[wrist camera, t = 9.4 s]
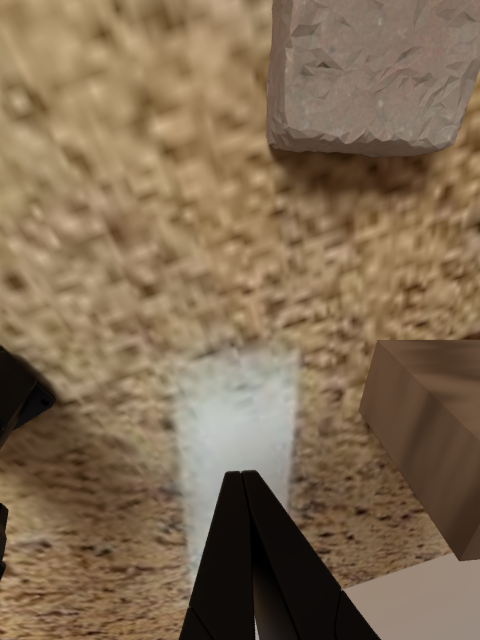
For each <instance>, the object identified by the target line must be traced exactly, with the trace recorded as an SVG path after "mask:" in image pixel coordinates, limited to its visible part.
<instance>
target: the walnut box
mask: <svg viewBox="0 0 480 640" xmlns="http://www.w3.org/2000/svg"><path fill="white" fill-rule="evenodd" d="M359 411H360V412H361V414H362V415H363V417H364V418H365V420H366V422H367V423H368V425H369V426H370V428H371V429H372V431H373V432H374V434H375V435H376V437H377V438H378V440H379V441H380V443H381V444H382V446H383V447H384V449H385V450H386V452H387V453H388V455H389V456H390V458H391V459H392V461H393V462H394V464H395V465H396V467H397V468H398V470H399V471H400V473H401V474H402V476H403V477H404V479H405V480H406V482H407V483H408V485H409V486H410V488H411V489H412V491H413V492H414V494H415V495H416V497H417V498H418V500H419V501H420V503H421V504H422V506H423V507H424V509H425V510H426V512H427V513H428V515H429V516H430V518H431V519H432V521H433V522H434V524H435V525H436V527H437V528H438V530H439V532H440V533H441V535H442V536H443V538H444V539H445V541H446V542H447V544H448V545H449V547H450V548H451V550H452V551H453V553H454V554H455V556H456V557H457V559H458V560H459V561H466V560H477V559H480V340H377V343H376V347H375V351H374V355H373V358H372V362H371V366H370V369H369V373H368V377H367V381H366V384H365V388H364V392H363V396H362V399H361V403H360V407H359Z"/></svg>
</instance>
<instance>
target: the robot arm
mask: <svg viewBox="0 0 480 640" xmlns="http://www.w3.org/2000/svg"><path fill="white" fill-rule="evenodd" d="M44 399H47V400H48V401H45V400H44ZM55 400H56V398H55V396H54V394H53V393H51V392H50V391H49V390H48V389H47V388H46V387H45V386H43V385H42V384H41V383H40V382H39V381H38V380H37V379H36V378H34V377H33V376H32V375H31V374H30V373H29V372H28V371H26V370H25V369H24V368H23V367H22V366H21V365H20V364H19V363H17V362H16V361H15V360H14V359H13V358H12V357H11V356H9V355H8V354H7V353H6V352H5V351H4V350H3V349H1V348H0V449H1V447H2V446H3V444H4V443H5V441H6V439H7V438H8V436H9V435H10V433H11V432H12V431H13V430H15V429H16V428H18V427H20V426H21V425H23V424H25V423H26V422H28V421H29V420H31V419H33V418H34V417H36V416H38V415H39V414H41V413H42V412H44V411H46V410H47V409H49V408H51V407H52V406H53V404H54V402H55ZM7 517H8V509H7V508H6V507H5V506H4V505H3V504H2V503H0V581H1V579H2V577H3V574H4V572H5V569H6V564H5V563H4V562H3V561H2V559H3V556H4V551H5V545H6V540H7V538H6V534H5V529H6V523H7ZM254 615H255V617H254ZM255 620H256V625H257V630H258V635H259V640H381V639H380V638H379V637H378V635H377V634H376V633H375V632H374V631H373V629H372V628H371V627H370V625H369V624H368V623H367V621H366V620H365V619H364V617H363V616H362V615H361V614H360V612H359V611H358V610H357V609H356V607H355V606H354V604H353V603H352V601H351V600H350V599H349V597H348V596H347V594H346V593H345V592H344V591H343V590H342V591H341V586H340V585H339V584H338V582H337V581H336V579H335V578H334V577H333V575H332V574H331V572H330V571H329V570H328V568H327V567H326V566H325V564H324V563H323V561H322V560H321V559H320V557H319V556H318V555H317V553H316V552H315V550H314V549H313V548H312V546H311V545H310V543H309V542H308V541H307V539H306V538H305V537H304V535H303V534H302V532H301V531H300V530H299V528H298V527H297V526H296V524H295V523H294V521H293V520H292V519H291V517H290V516H289V514H288V513H287V512H286V510H285V509H284V508H283V506H282V505H281V503H280V502H279V501H278V499H277V498H276V497H275V495H274V494H273V492H272V491H271V490H270V488H269V487H268V485H267V484H266V483H265V481H264V480H263V479H262V477H261V476H260V474H259V473H258V472H257V471H256V470H244V471H242V472H240V471H227V472H226V473H225V475H224V479H223V482H222V486H221V490H220V493H219V497H218V500H217V504H216V508H215V511H214V515H213V519H212V522H211V526H210V529H209V533H208V537H207V540H206V544H205V548H204V551H203V555H202V558H201V562H200V566H199V569H198V573H197V577H196V580H195V584H194V587H193V591H192V595H191V598H190V602H189V608H188V609H187V612H186V616H185V619H184V623H183V627H182V630H181V633H180V637H179V640H255Z"/></svg>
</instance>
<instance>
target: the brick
mask: <svg viewBox="0 0 480 640" xmlns="http://www.w3.org/2000/svg"><path fill="white" fill-rule="evenodd" d="M272 17H273V25H272V46H271V52H270V63H269V69H268V76H267V92H266V96H267V119H266V122H267V134H266V136H267V142H268V144H270V145H271V146H273V148H274V149H282V150H284V151H293V152H305V151H308V150H309V151H311V152H317V151H322V152H327V153H330V152H341V153H351V154H352V153H353V154H362V155H364V156H368V157H399V156H417V155H422V154H429V153H433V152H437V151H440V150H442V149H444V148H446V147H448V146H451V145H453V143H454V141H455V139H456V136H457V134H458V131H459V129H460V128H461V125H462V122H463V118H464V114H465V111H466V108H467V105H468V102H469V99H470V97H471V94H472V91H473V88H474V84H475V81H476V78H477V75H478V72H479V68H480V0H273V5H272Z"/></svg>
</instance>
